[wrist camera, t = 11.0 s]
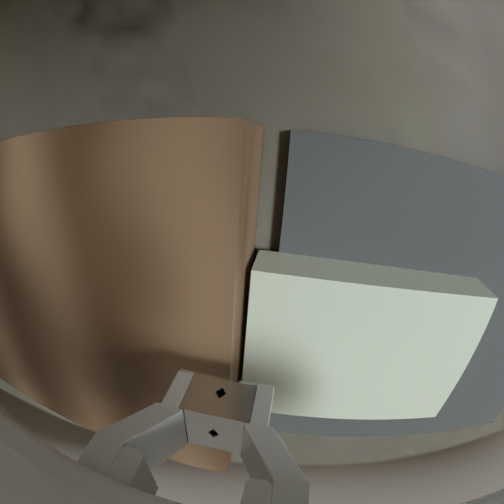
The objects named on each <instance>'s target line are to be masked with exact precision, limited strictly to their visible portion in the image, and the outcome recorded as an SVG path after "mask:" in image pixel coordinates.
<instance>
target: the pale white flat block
mask: <svg viewBox="0 0 504 504" xmlns="http://www.w3.org/2000/svg"><path fill="white" fill-rule="evenodd" d="M497 301H498V298H497V297H496V296H495V295H494V294H493V293H492V292H491V291H490V290H489V289H488V288H487V287H486V286H485V285H484V284H483V283H482V282H481V281H480V280H479V279H478V278H474V277H467V276H459V275H452V274H444V273H437V272H429V271H421V270H414V269H406V268H399V267H391V266H383V265H376V264H368V263H360V262H352V261H345V260H337V259H329V258H321V257H314V256H306V255H298V254H290V253H282V252H274V251H267V250H259V252H258V254H257V257H256V259H255V262H254V265H253V267H252V270H251V279H250V291H249V303H248V315H247V327H246V339H245V351H244V363H243V375H242V381H244V382H251V383H257V384H264V385H271V386H274V395H273V402H272V408H271V413H278V414H286V415H295V416H306V417H318V418H333V419H362V420H386V419H414V418H428V417H435V416H436V415H437V414H438V412H439V411H440V409H441V408H442V406H443V405H444V403H445V402H446V400H447V399H448V397H449V395H450V394H451V392H452V391H453V389H454V387H455V386H456V384H457V382H458V381H459V379H460V377H461V376H462V374H463V372H464V370H465V369H466V367H467V365H468V363H469V361H470V359H471V357H472V356H473V354H474V352H475V350H476V348H477V346H478V344H479V342H480V340H481V338H482V335H483V333H484V331H485V329H486V327H487V325H488V322H489V320H490V318H491V315H492V313H493V311H494V308H495V306H496V303H497Z"/></svg>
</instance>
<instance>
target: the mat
mask: <svg viewBox="0 0 504 504" xmlns="http://www.w3.org/2000/svg"><path fill="white" fill-rule="evenodd" d="M279 252H282V253H290V254H298V255H306V256H314V257H321V258H329V259H337V260H345V261H352V262H360V263H368V264H376V265H383V266H391V267H399V268H406V269H414V270H421V271H429V272H437V273H444V274H452V275H459V276H467V277H474V278H478V279H479V280H480V281H481V282H482V283H483V284H484V285H485V286H486V287H487V288H488V289H489V290H490V291H491V292H492V293H493V294H494V295H495V296H496V297H497V298H498V301H497V303H496V306H495V308H494V311H493V313H492V315H491V318H490V320H489V322H488V325H487V327H486V329H485V331H484V333H483V335H482V338H481V340H480V342H479V344H478V346H477V348H476V350H475V352H474V354H473V356H472V357H471V359H470V361H469V363H468V365H467V367H466V369H465V370H464V372H463V374H462V376H461V377H460V379H459V381H458V382H457V384H456V386H455V387H454V389H453V391H452V392H451V394H450V395H449V397H448V399H447V400H446V402H445V403H444V405H443V406H442V408H441V409H440V411H439V412H438V414H437V415H436V416H435V417H428V418H414V419H386V420H362V419H333V418H318V417H306V416H295V415H286V414H278V413H271V415H270V421H269V427H274V429H275V430H276V431H279V432H288V433H298V434H311V435H327V436H394V435H410V434H422V433H431V432H440V431H447V430H454V429H461V428H467V427H472V426H478V425H483V424H487V423H492V422H493V421H494V420H495V418H496V417H497V416H498V415H499V413H500V412H501V410H502V409H503V408H504V176H501V175H498V174H496V173H493V172H490V171H487V170H484V169H481V168H478V167H475V166H472V165H468V164H465V163H462V162H459V161H455V160H452V159H448V158H445V157H441V156H437V155H433V154H430V153H426V152H422V151H418V150H413V149H409V148H405V147H400V146H396V145H391V144H386V143H381V142H376V141H371V140H365V139H359V138H353V137H347V136H341V135H334V134H327V133H320V132H312V131H303V130H294V129H291V133H290V145H289V156H288V167H287V178H286V189H285V199H284V209H283V219H282V228H281V238H280V247H279Z"/></svg>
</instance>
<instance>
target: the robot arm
mask: <svg viewBox="0 0 504 504" xmlns="http://www.w3.org/2000/svg"><path fill="white" fill-rule="evenodd" d="M273 395H274V386H271V385H264V384H257V383H251V382H244V381H238V380H232V379H225V378H220V377H216V376H211V375H207V374H203V373H198V372H193V371H189V370H185V369H180V370H179V371H178V372H177V374H176V376H175V378H174V380H173V382H172V383H171V385H170V387H169V389H168V391H167V393H166V395H165V397H164V399H163V400H162V402H161V403H157V402H156V403H154V404H152V405H151V406H149V407H147V408H145V409H143V410H141V411H139V412H137V413H135V414H133V415H131V416H129V417H126V418H124V419H122V420H120V421H118V422H116V423H114V424H112V425H110V426H108V427H105V428H103V429H101V430H99V431H97V432H96V433H95V435H94V437H93V438H92V440H91V441H90V443H89V444H88V446H87V448H86V449H85V450H84V452H83V453H82V455H81V457H80V458H79V460H78V461H75V460H73V459H71V458H69V457H68V456H66V455H64V454H62V453H61V452H59V451H57V450H55V449H54V448H52V447H51V446H49V445H47V444H46V443H44V442H42V441H41V440H40V439H38V438H36V437H35V436H33V435H32V434H30V433H29V432H28V431H26V430H25V429H23V428H22V427H20V426H19V425H18V424H16V423H15V422H13V421H12V420H11V419H9V418H8V417H7V416H6V415H4V414H3V413H2V412H1V411H0V504H181V503H178V502H174V501H171V500H168V499H165V498H161V497H158V496H155V495H156V492H157V489H158V486H157V484H156V482H155V480H154V478H153V476H152V473H151V470H152V469H153V468H155V467H156V466H158V465H159V464H161V463H162V462H164V461H165V460H166V459H168V458H169V457H171V456H172V455H173V454H175V453H176V452H177V451H179V450H180V449H181V448H183V447H184V446H186V445H187V444H188V442H189V443H193V444H197V445H202V446H207V447H212V448H216V449H221V450H225V451H230V452H234V453H239V454H240V456H241V458H242V460H243V463H244V465H245V467H246V469H247V472H248V474H249V476H250V478H251V479H250V480H248V481H246V483H245V487H244V491H243V495H242V499H241V503H240V504H308V499H309V485H310V484H309V482H308V480H307V479H306V477H305V476H304V474H303V473H302V471H301V470H300V468H299V467H298V465H297V464H296V462H295V461H294V459H293V457H292V456H291V454H290V453H289V451H288V450H287V448H286V446H285V445H284V443H283V442H282V440H281V438H280V437H279V435H278V434H277V432H276V430H275V429H274V427H269V421H270V415H271V408H272V402H273ZM462 504H504V489H501V490H499V491H496V492H494V493H491V494H489V495H486V496H483V497H480V498H477V499H474V500H471V501H468V502H465V503H462Z"/></svg>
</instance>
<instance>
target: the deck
mask: <svg viewBox="0 0 504 504" xmlns="http://www.w3.org/2000/svg"><path fill="white" fill-rule="evenodd" d="M263 136H264V127H262V126H260V125H258V124H256V123H254V122H252V121H250V120H248V119H246V118H234V117H166V118H146V119H131V120H119V121H109V122H100V123H92V124H84V125H77V126H70V127H64V128H58V129H52V130H46V131H41V132H36V133H31V134H27V135H22V136H18V137H13V138H9V139H5V140H1V141H0V378H1V379H3V380H4V381H6V382H7V383H9V384H10V385H12V386H13V387H15V388H16V389H18V390H19V391H21V392H22V393H24V394H25V395H27V396H28V397H30V398H32V399H33V400H35V401H37V402H38V403H40V404H42V405H43V406H45V407H47V408H49V409H50V410H52V411H54V412H56V413H58V414H60V415H61V416H63V417H65V418H67V419H69V420H71V421H73V422H75V423H77V424H79V425H81V426H83V427H85V428H87V429H90V430H92V431H94V432H97V431H99V430H101V429H103V428H105V427H108V426H110V425H112V424H114V423H116V422H118V421H120V420H122V419H124V418H126V417H129V416H131V415H133V414H135V413H137V412H139V411H141V410H143V409H145V408H147V407H149V406H151V405H152V404H154V403H156V402H157V403H161V402H162V400H163V399H164V397H165V395H166V393H167V391H168V389H169V387H170V385H171V383H172V382H173V380H174V378H175V376H176V374H177V372H178V371H179V370H180V369H185V370H189V371H193V372H198V373H203V374H207V375H211V376H216V377H220V378H225V379H232V380H238V381H242V375H243V363H244V351H245V339H246V327H247V315H248V303H249V291H250V279H251V270H252V267H253V263H254V250H255V238H256V225H257V212H258V200H259V187H260V174H261V161H262V148H263ZM232 453H233V452H230V451H225V450H221V449H216V448H212V447H207V446H202V445H197V444H193V443H189V442H188V444H187V445H186V446H184V447H183V448H181V449H180V450H179V451H177V452H176V453H175V454H173V455H172V456H171V457H169V458H168V459H169V460H173V461H176V462H180V463H183V464H187V465H191V466H196V467H199V468H203V469H208V470H213V471H217V472H222V473H227V472H228V468H229V464H230V461H231V457H232Z"/></svg>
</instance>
